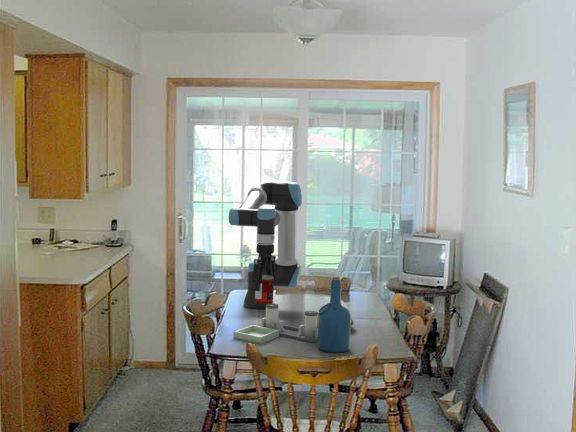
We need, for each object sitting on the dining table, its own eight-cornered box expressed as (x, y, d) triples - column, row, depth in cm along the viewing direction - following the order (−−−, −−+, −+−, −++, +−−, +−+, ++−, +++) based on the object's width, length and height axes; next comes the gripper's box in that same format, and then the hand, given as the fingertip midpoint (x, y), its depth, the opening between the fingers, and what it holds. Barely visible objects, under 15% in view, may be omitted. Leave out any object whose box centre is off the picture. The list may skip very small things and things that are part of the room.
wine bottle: (347, 344, 289) (350, 273, 285) (351, 354, 275) (354, 280, 272) (315, 343, 288) (317, 273, 285) (317, 353, 275) (320, 279, 272)
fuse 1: (263, 329, 307) (263, 305, 306) (269, 326, 312) (270, 303, 311) (273, 331, 304) (274, 307, 303) (280, 328, 309) (280, 304, 308)
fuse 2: (301, 337, 297) (302, 312, 296) (308, 334, 302) (308, 309, 300) (312, 339, 294) (313, 314, 293) (319, 336, 299) (320, 312, 298)
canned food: (271, 304, 290) (271, 278, 289) (252, 303, 291) (253, 277, 290) (274, 300, 297) (275, 275, 296) (256, 299, 299) (257, 274, 298)
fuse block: (253, 330, 306) (253, 320, 305) (269, 324, 317) (269, 314, 316) (313, 342, 289) (314, 332, 289) (329, 336, 300) (329, 326, 300)
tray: (233, 338, 292) (233, 331, 292) (252, 331, 304) (252, 324, 304) (260, 344, 285) (260, 337, 285) (278, 336, 297) (279, 330, 297)
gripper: (259, 247, 281) (257, 302, 283) (285, 242, 299) (283, 294, 301) (244, 245, 285) (242, 299, 287) (270, 240, 302) (269, 291, 305)
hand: (263, 296), depth 294 cm, fingers closed on canned food, 8 cm apart
